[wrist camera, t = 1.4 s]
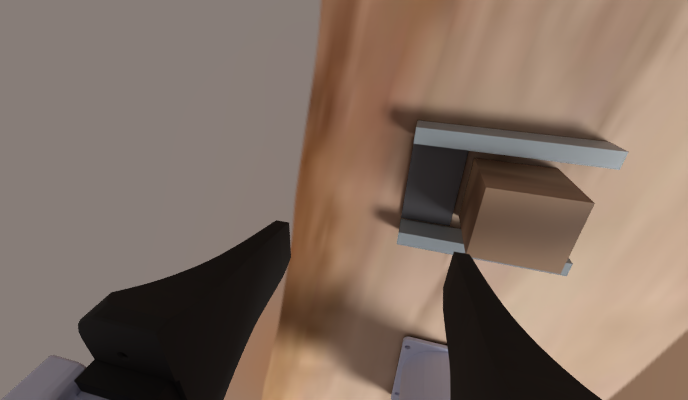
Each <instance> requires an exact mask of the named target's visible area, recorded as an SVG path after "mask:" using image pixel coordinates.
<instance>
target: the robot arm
mask: <svg viewBox="0 0 688 400" xmlns="http://www.w3.org/2000/svg"><path fill="white" fill-rule="evenodd" d="M290 258H291V251H290V232H289V223H288V222H282V221H275V222H273V223H271V224H270V225H268V226H267V227H265V228H264V229H262V230H261V231H259V232H258V233H256V234H255V235H253V236H252V237H250V238H248V239H247V240H245V241H244V242H242V243H240V244H239V245H237V246H235V247H233V248H232V249H230V250H228V251H226V252H225V253H223V254H221V255H220V256H217V257H215V258H213V259H211V260H209V261H207V262H205V263H203V264H201V265H198V266H196V267H194V268H191V269H188V270H186V271H183V272H181V273H178V274H176V275H173V276H170V277H167V278H164V279H161V280H157V281H154V282H151V283H148V284H144V285H140V286H137V287H132V288H129V289H124V290H120V291H116V292H112V293H110V294H109V295H108V296H107V297H106V298H105V299H103V301H101V302H100V303H99V304H98V305H96V306H95V307H94V308H93V309H92V310H91V311H90V312H88V313H87V314H86V315H85V316H84V317H83V318H82V319H81V320H80V321H79V323H78V329H79V333H80V335H81V338H82V339H83V341H84V343H85V344H86V346H87V348H88V349H89V351H90V352H91V354H92V356H93V357H94V359H95V360H94V361H93V362H92V363H91V364H90V365H89V366H88V367H87V368H86V367H85V366H84V365H82V364H81V363H79V362H76V361H72V360H69V359H66V358H62V357H59V356H55V355H51V356H49V357H48V358H47V359H46V360H45V361H43V362H42V363H41V364H40V365H39V366H38V367H37V368H36V369H35V370H33V371H32V372H31V373H30V374H29V375H28V376H27V377H26V378H25V379H24V380H22V381H21V382H20V383H19V384H18V385H17V386H16V387H14V388H13V389H12V390H11V391H10V392H9V393H8V394H7V395H6V396H5V397H3V398H2V399H1V400H223V399H224V397H225V394H226V392H227V389H228V387H229V384H230V382H231V379H232V377H233V374H234V372H235V369H236V367H237V365H238V362H239V360H240V358H241V355H242V353H243V351H244V348H245V346H246V344H247V342H248V339H249V337H250V335H251V333H252V331H253V328H254V326H255V324H256V322H257V321H258V318H259V317H260V315H261V313H262V312H263V310H264V308H265V307H266V305H267V303H268V301H269V299H270V298H271V296H272V295H273V293H274V291H275V290H276V288H277V286H278V284H279V282H280V281H281V279H282V277H283V275H284V273H285V271H286V268H287V266H288V263H289V261H290ZM443 313H444V322H445V331H446V339H447V346H446V345H442V344H437V343H433V342H429V341H425V340H421V339H417V338H413V337H405V338H404V339H403V343H402V348H401V352H400V357H399V362H398V366H397V371H396V376H395V380H394V385H393V390H392V394H391V400H602V399H600V398H599V397H598V396H596V395H595V394H594V393H592V392H591V391H590V390H589V389H587V388H586V387H585V386H583V385H582V384H581V383H580V382H579V381H578V380H576V379H575V378H574V377H573V376H572V375H570V374H569V373H568V372H567V371H566V370H565V369H563V368H562V367H561V366H560V365H559V364H558V363H557V362H556V361H555V360H553V359H552V358H551V357H550V356H549V355H548V354H547V353H546V352H545V351H544V350H543V349H542V348H541V347H540V346H539V345H538V344H537V343H536V342H535V341H534V340H533V339H532V338H531V337H530V336H529V335H528V334H527V333H526V332H525V330H524V329H523V328H522V327H521V326H520V325H519V324H518V323H517V322H516V320H515V319H514V318H513V317H512V316H511V314H510V313H509V312H508V311H507V309H506V308H505V307H504V305H503V304H502V303H501V301H500V300H499V299H498V297H497V296H496V294H495V293H494V292H493V290H492V289H491V287H490V286H489V284H488V283H487V281H486V280H485V278H484V277H483V275H482V274H481V272H480V270H479V269H478V267H477V265H476V264H475V262H474V261H473V259H472V257H471V256H470V254H465V253H460V252H454V253H453V256H452V260H451V263H450V266H449V270H448V273H447V276H446V280H445V283H444V287H443ZM407 345H408V346H407Z"/></svg>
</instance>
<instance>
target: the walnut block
mask: <svg viewBox="0 0 688 400" xmlns="http://www.w3.org/2000/svg"><path fill="white" fill-rule="evenodd" d="M594 204H595V203H594V202H593V201H592V200H591V199H590V198H589V197H587V196H586V195H585V194H584V193H583V192H582V191H581V190H580V189H579V188H578V187H577V186H576V185H575V184H574V183H573V182H572V181H571V180H570V179H569V178H568V177H566V176H565V175H564V174H563V173H562V172H561V171H560V170H559V169H556V168H549V167H541V166H533V165H526V164H518V163H510V162H503V161H495V160H488V159H480V158H474V161H473V165H472V169H471V172H470V176H469V180H468V184H467V187H466V191H465V195H464V199H463V203H462V206H461V210H460V214H459V219H460V225H461V231H462V237H463V243H464V249H465V254H470V256H471V257H473V258H478V259H483V260H489V261H494V262H499V263H504V264H510V265H515V266H520V267H526V268H531V269H536V270H541V271H547V272H552V273H557V274H561V272H562V270H563V268H564V266H565V264H566V262H567V260H568V258H569V256H570V253H571V251H572V249H573V247H574V245H575V243H576V241H577V239H578V237H579V235H580V233H581V231H582V229H583V227H584V225H585V222H586V220H587V218H588V216H589V214H590V212H591V210H592V208H593V206H594Z"/></svg>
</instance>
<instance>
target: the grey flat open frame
mask: <svg viewBox="0 0 688 400" xmlns="http://www.w3.org/2000/svg"><path fill="white" fill-rule="evenodd" d="M468 151H476V152H484V153H492V154H500V155H508V156H515V157H523V158H531V159H539V160H547V161H555V162H563V163H570V164H578V165H586V166H594V167H602V168H610V169H618V170H620V168H621V166H622V164H623V162H624V160H625V158H626V156H627V154H628V151H626V150H624V149H622V148H620V147H618V146H616V145H614V144H612V143H611V142H606V141H597V140H588V139H580V138H571V137H562V136H553V135H544V134H535V133H526V132H518V131H509V130H500V129H491V128H482V127H473V126H464V125H456V124H447V123H438V122H429V121H420V120H417V126H416V132H415V138H414V144H413V150H412V156H411V162H410V168H409V174H408V180H407V186H406V192H405V198H404V204H403V210H402V216H401V218H407V219H412V220H418V221H424V222H430V223H436V224H441V225H447V226H450V222H451V218H452V214H453V210H454V206H455V202H456V199H457V195H458V191H459V187H460V183H461V179H462V175H463V171H464V167H465V163H466V159H467V155H468ZM412 220H406V219H401V222H400V228H399V234H398V240H397V244H399V245H404V246H410V247H415V248H420V249H425V250H431V251H436V252H441V253H446V254H452V255H453V253H454V252H460V253H465V249H464V243H463V237H462V231H461V229H458V228H452V227H447V226H441V225H435V224H429V223H424V222H418V221H412ZM472 258H473V257H472ZM473 259H478V258H473ZM478 260H483V259H478ZM483 261H489V260H483ZM489 262H494V261H489ZM494 263H499V262H494ZM499 264H504V263H499ZM504 265H510V264H504ZM510 266H515V265H510ZM571 266H572V262H571V261H570V259H569V258H568V260H567V262H566V264H565V266H564V268H563V270H562V272H561V274H557V273H552V272H547V271H541V270H536V269H531V268H526V267H520V266H515V267H520V268H526V269H531V270H536V271H541V272H547V273H552V274H557V275H562V276H567V274H568V272H569V270H570V268H571Z"/></svg>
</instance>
